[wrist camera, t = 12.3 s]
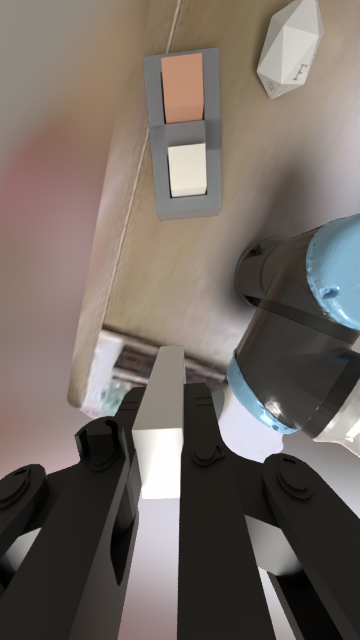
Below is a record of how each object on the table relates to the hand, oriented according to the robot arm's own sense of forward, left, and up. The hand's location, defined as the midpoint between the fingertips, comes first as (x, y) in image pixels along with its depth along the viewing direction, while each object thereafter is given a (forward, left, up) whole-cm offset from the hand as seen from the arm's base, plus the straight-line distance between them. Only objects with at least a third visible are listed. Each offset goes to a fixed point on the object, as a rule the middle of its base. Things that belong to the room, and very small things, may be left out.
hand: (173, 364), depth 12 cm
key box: (-3, -29, -29) cm, 41 cm away
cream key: (-3, -23, -28) cm, 36 cm away
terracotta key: (-3, -35, -28) cm, 44 cm away
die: (-20, -39, -30) cm, 53 cm away
